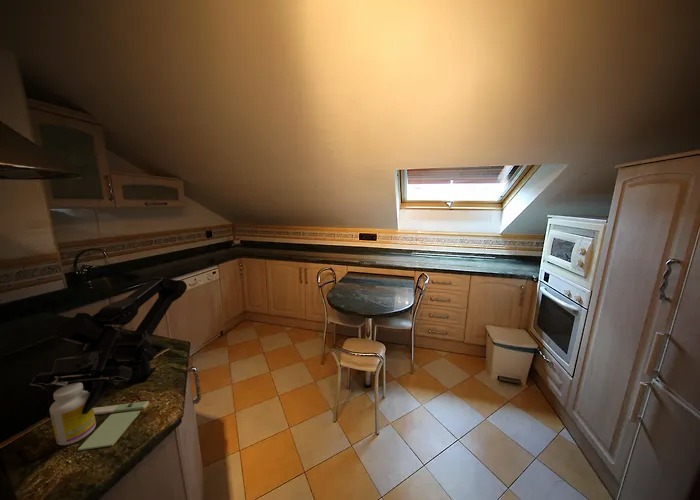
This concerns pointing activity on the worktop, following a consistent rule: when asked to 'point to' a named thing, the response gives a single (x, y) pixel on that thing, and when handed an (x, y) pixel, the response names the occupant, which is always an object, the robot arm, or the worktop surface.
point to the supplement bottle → (71, 414)
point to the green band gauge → (112, 424)
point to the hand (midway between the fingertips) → (67, 416)
